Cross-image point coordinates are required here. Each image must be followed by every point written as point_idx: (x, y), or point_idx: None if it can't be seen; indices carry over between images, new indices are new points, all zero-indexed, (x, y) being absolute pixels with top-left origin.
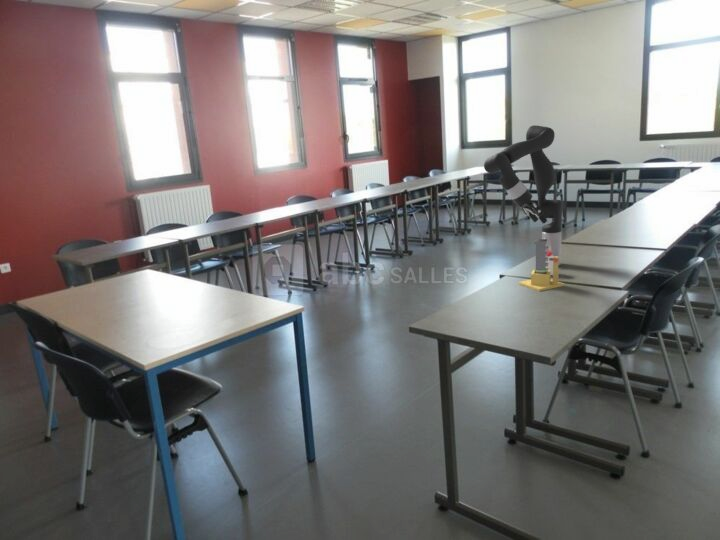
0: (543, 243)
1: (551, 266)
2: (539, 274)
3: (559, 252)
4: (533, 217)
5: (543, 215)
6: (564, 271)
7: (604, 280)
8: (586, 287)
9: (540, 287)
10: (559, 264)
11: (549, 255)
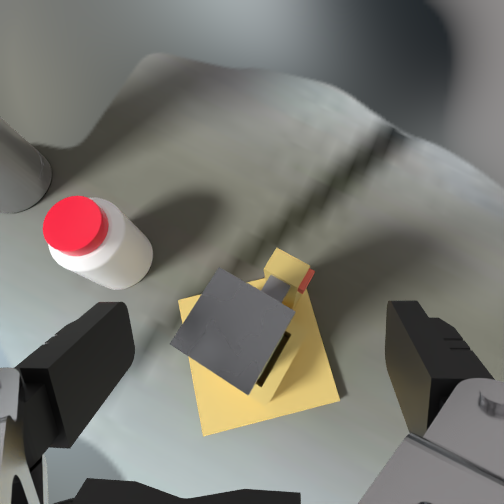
0: (283, 333)
1: (139, 236)
2: (286, 370)
3: (14, 132)
4: (94, 376)
5: (456, 360)
6: (126, 183)
7: (289, 125)
8: (348, 213)
9: (319, 382)
10: (47, 161)
11: (107, 222)
